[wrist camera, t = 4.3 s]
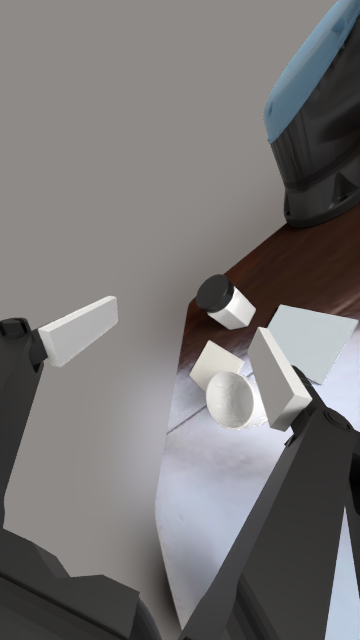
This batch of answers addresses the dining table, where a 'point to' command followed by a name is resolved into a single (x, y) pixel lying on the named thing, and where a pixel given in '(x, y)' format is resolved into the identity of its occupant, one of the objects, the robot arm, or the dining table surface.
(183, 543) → the dining table surface
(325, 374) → the light grey square tile
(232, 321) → the jar
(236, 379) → the white cup
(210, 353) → the tile shorter
